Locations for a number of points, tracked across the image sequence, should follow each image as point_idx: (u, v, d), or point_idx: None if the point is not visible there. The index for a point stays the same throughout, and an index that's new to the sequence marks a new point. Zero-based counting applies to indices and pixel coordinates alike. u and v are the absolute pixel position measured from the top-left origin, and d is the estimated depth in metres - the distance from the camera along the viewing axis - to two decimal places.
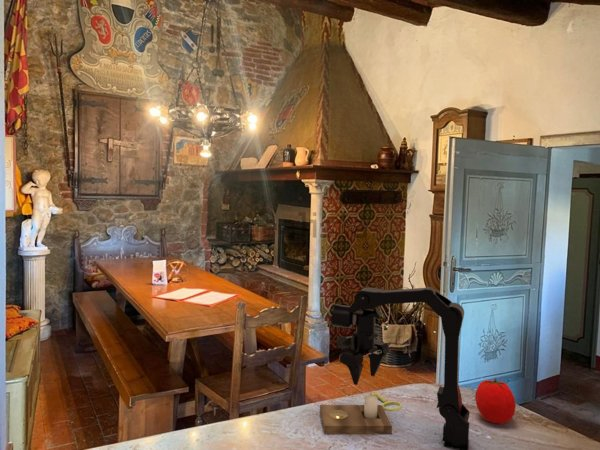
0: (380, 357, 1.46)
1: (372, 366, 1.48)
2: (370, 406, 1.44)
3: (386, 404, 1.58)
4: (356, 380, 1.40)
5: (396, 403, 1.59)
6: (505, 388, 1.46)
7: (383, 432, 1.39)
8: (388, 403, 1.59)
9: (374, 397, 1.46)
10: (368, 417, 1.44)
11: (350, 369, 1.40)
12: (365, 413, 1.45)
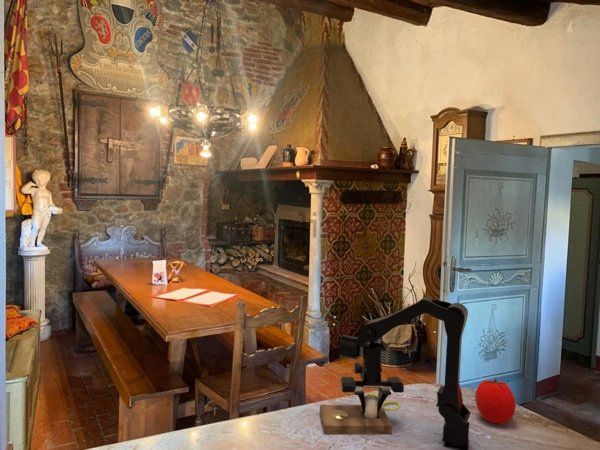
0: (381, 394, 1.43)
1: None
2: (370, 406, 1.44)
3: (385, 404, 1.58)
4: (362, 407, 1.45)
5: (394, 403, 1.59)
6: (505, 388, 1.46)
7: (383, 432, 1.39)
8: (387, 403, 1.59)
9: (374, 397, 1.46)
10: (368, 417, 1.44)
11: None
12: (365, 413, 1.45)
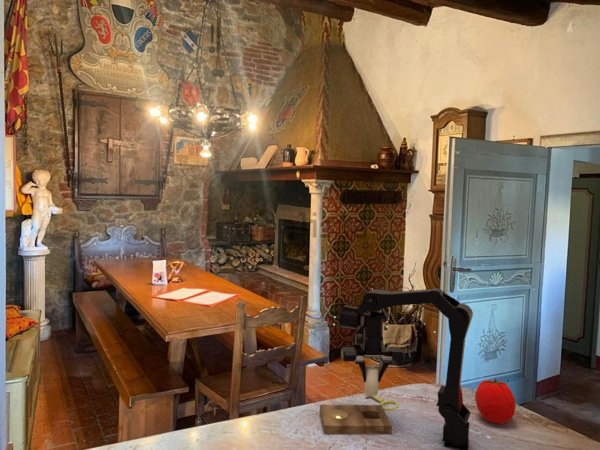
0: (382, 363, 1.43)
1: None
2: (371, 376, 1.43)
3: (383, 404, 1.58)
4: (363, 377, 1.44)
5: (392, 402, 1.60)
6: (505, 388, 1.46)
7: (383, 432, 1.39)
8: (385, 403, 1.59)
9: (375, 367, 1.45)
10: (369, 387, 1.44)
11: None
12: (366, 383, 1.44)
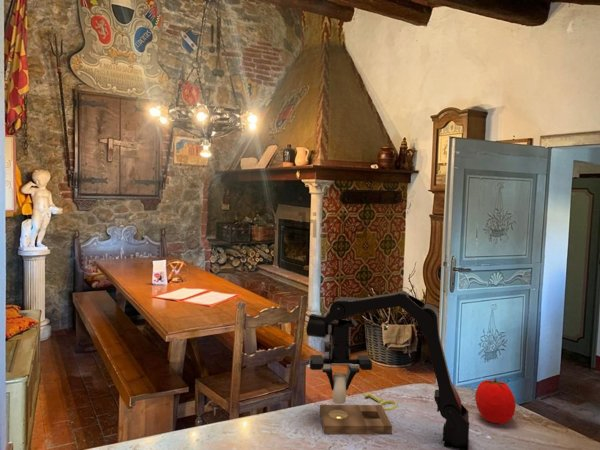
0: (349, 372, 1.42)
1: (346, 379, 1.45)
2: (338, 384, 1.43)
3: (382, 404, 1.59)
4: None
5: (391, 402, 1.60)
6: (505, 388, 1.46)
7: (383, 432, 1.39)
8: (384, 402, 1.59)
9: (343, 375, 1.45)
10: (336, 395, 1.43)
11: None
12: (334, 391, 1.44)
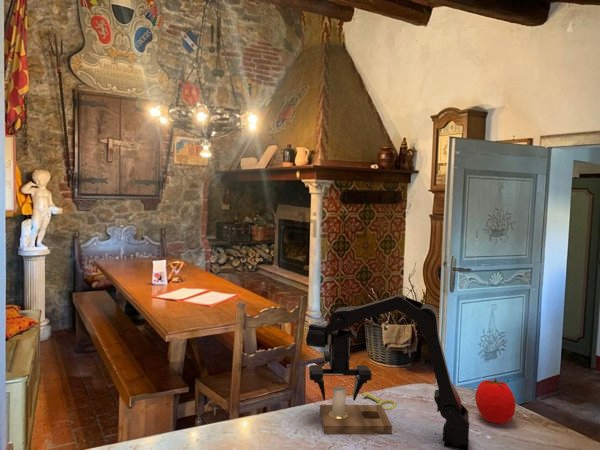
0: (357, 382, 1.43)
1: (354, 390, 1.45)
2: (338, 397, 1.43)
3: (381, 403, 1.59)
4: (322, 395, 1.44)
5: (390, 401, 1.60)
6: (505, 388, 1.46)
7: (383, 432, 1.39)
8: (383, 402, 1.59)
9: (342, 388, 1.45)
10: (336, 408, 1.43)
11: None
12: (333, 404, 1.44)
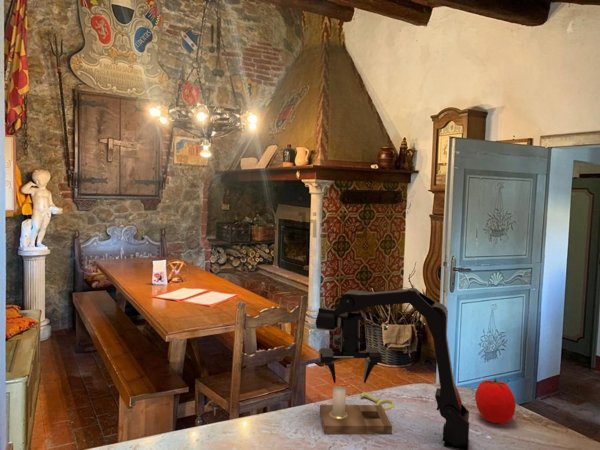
0: (367, 364, 1.42)
1: (364, 372, 1.45)
2: (338, 398, 1.43)
3: (379, 403, 1.59)
4: None
5: (388, 401, 1.61)
6: (505, 388, 1.46)
7: (383, 432, 1.39)
8: (381, 402, 1.59)
9: (342, 388, 1.45)
10: (336, 408, 1.43)
11: None
12: (333, 404, 1.44)
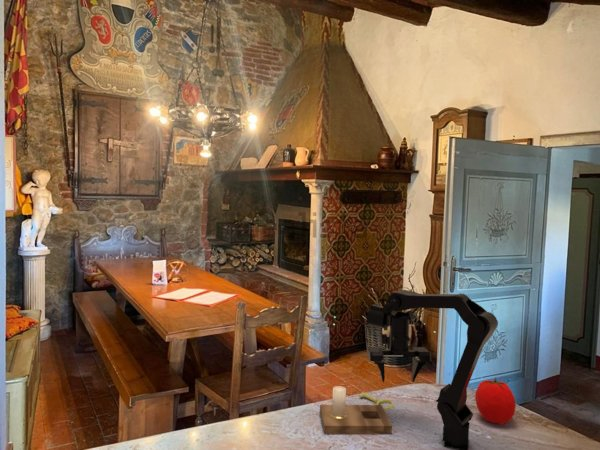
0: (417, 363, 1.43)
1: (412, 371, 1.46)
2: (338, 398, 1.43)
3: (379, 403, 1.59)
4: (381, 377, 1.45)
5: (387, 401, 1.61)
6: (505, 388, 1.46)
7: (383, 432, 1.39)
8: (380, 402, 1.59)
9: (342, 388, 1.45)
10: (336, 408, 1.43)
11: (378, 365, 1.46)
12: (333, 404, 1.44)
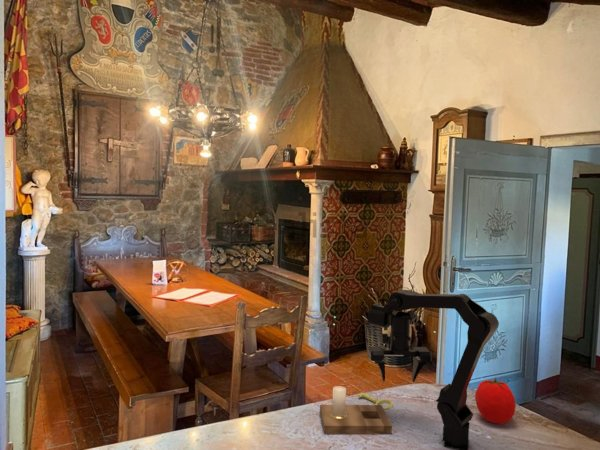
0: (417, 363, 1.44)
1: (413, 371, 1.46)
2: (338, 397, 1.43)
3: (378, 403, 1.59)
4: (382, 376, 1.45)
5: (386, 401, 1.61)
6: (505, 388, 1.46)
7: (383, 432, 1.39)
8: (379, 402, 1.59)
9: (342, 388, 1.45)
10: (336, 408, 1.43)
11: (378, 365, 1.46)
12: (333, 404, 1.44)
